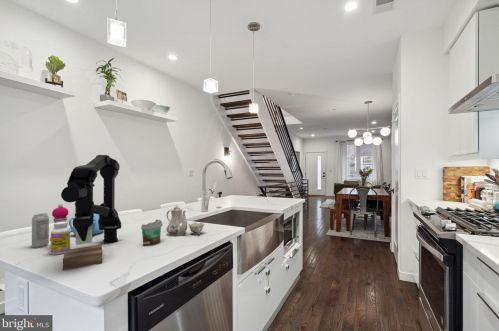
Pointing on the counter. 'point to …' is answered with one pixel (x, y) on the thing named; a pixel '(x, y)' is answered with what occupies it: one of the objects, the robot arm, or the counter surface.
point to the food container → (151, 233)
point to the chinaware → (181, 223)
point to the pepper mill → (60, 214)
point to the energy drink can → (40, 230)
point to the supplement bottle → (60, 238)
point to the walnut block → (82, 257)
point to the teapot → (94, 226)
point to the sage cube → (88, 238)
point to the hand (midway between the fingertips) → (84, 239)
